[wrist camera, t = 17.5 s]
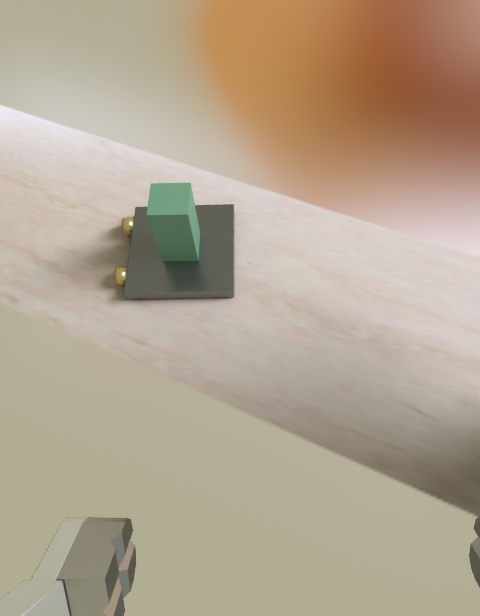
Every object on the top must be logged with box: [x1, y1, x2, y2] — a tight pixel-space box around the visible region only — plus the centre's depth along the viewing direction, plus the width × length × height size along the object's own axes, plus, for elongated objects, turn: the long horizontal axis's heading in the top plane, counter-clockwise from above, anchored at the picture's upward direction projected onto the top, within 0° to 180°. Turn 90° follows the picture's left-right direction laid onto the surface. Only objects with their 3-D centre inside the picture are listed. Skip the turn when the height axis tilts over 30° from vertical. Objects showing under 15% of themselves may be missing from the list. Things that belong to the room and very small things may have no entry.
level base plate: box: [114, 204, 234, 299], centre depth 48 cm, size 13×13×2 cm
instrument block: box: [147, 183, 200, 261], centre depth 44 cm, size 4×5×8 cm
